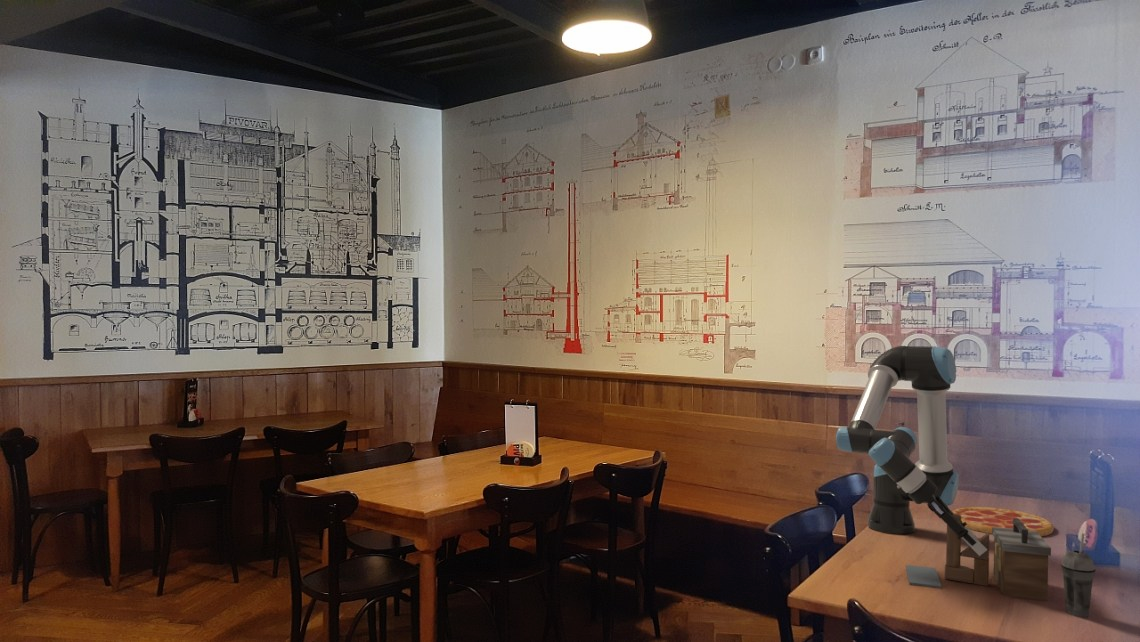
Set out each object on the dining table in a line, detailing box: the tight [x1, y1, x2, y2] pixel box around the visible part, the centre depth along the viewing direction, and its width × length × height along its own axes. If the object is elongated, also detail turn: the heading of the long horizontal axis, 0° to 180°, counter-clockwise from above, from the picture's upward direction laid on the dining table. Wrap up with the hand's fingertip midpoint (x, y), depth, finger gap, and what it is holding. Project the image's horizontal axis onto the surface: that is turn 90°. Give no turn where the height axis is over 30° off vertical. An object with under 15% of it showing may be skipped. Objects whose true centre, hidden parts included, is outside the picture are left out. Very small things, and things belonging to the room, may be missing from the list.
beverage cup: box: [1060, 533, 1096, 618], centre depth 191 cm, size 7×7×20 cm
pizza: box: [951, 506, 1055, 538], centre depth 273 cm, size 32×32×3 cm
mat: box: [905, 564, 943, 589], centre depth 217 cm, size 16×8×1 cm, turn 160°
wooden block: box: [944, 514, 990, 587], centre depth 214 cm, size 4×11×18 cm, turn 61°
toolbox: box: [991, 518, 1052, 602], centre depth 209 cm, size 17×11×18 cm, turn 160°
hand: (981, 549), depth 212 cm, fingers open, 4 cm apart
